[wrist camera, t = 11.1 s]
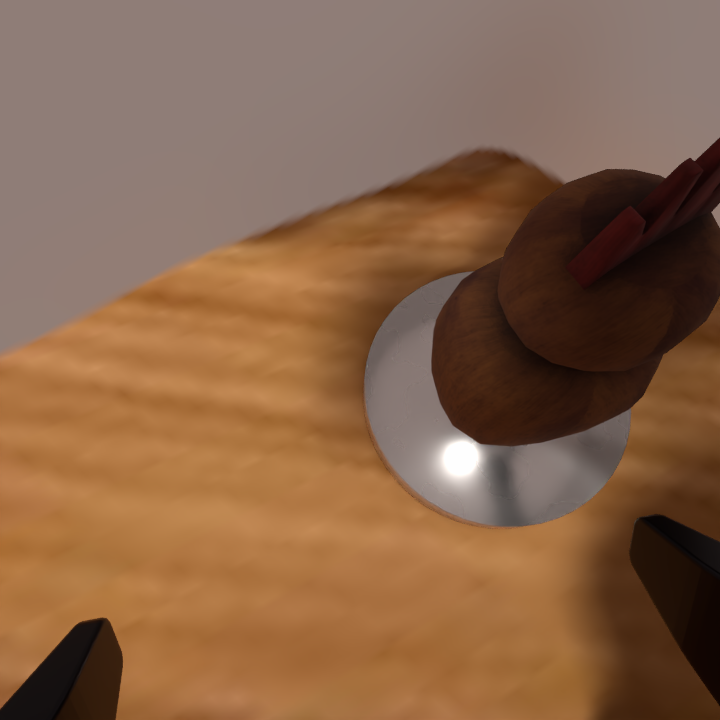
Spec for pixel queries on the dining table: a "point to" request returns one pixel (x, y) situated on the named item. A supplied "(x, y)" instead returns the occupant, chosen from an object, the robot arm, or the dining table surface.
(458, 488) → the plate
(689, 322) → the wooden figurine
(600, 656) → the dining table surface
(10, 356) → the dining table surface
